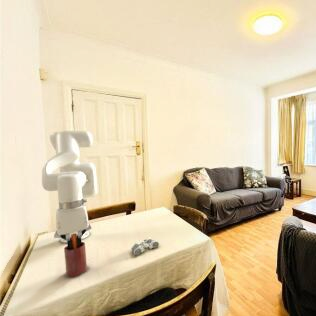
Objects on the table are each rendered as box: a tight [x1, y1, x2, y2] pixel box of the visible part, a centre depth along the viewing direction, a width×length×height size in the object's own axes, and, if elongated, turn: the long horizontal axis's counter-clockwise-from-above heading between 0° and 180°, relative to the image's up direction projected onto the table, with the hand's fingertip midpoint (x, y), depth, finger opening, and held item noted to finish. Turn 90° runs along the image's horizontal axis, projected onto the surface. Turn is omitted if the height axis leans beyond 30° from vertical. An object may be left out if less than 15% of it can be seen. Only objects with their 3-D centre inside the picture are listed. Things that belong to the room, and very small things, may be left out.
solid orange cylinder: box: [71, 234, 78, 250], centre depth 84 cm, size 2×2×12 cm
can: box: [63, 241, 88, 278], centre depth 84 cm, size 7×7×12 cm
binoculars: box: [130, 237, 160, 256], centre depth 103 cm, size 12×8×4 cm, turn 139°
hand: (74, 247), depth 84 cm, fingers closed on solid orange cylinder, 1 cm apart
